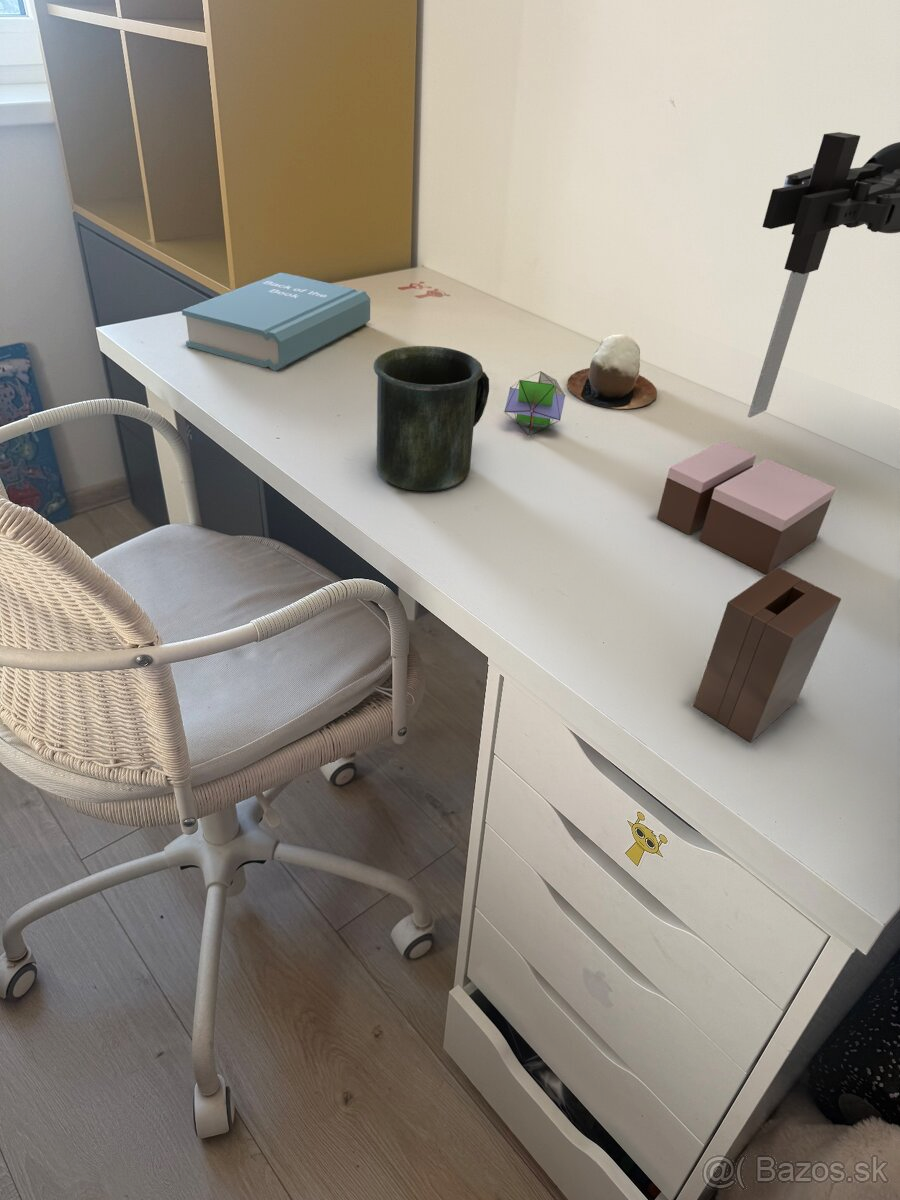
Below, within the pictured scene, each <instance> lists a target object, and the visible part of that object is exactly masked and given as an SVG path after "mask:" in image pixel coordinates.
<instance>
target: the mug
mask: <svg viewBox="0 0 900 1200" xmlns="http://www.w3.org/2000/svg"><path fill="white" fill-rule="evenodd" d="M372 366H373V367H372V368H373V371H374V374H376V376H377V386H376V387H377V390H376V391H377V393H376V394H377V395H376V396H377V397H376V399H377V400H376V464H375V465H376V470H377V471H378V473H379V474H380V475H381V477H382V478H383V479H384V481H386V482H388V483H389V484H391V485H393V486H395V487H398V488H401V489H404V490H410V491H418V492H433V491H434V492H435V491H440V490H441V491H442V490H446V489H449V488H452V487H454V486H456V485H458V484H460V483H462V482H463V480H465V478H466V477H467V476H468V474H469V472H470V469H471V461H472V460H471V459H472V451H473V450H472V449H473V437H474V427H476V425H477V424H478V423H479V422H480V420H481V418H482V416H483V414H484V413H485V412H484V411H485V409H486V406H487V403H488V398H489V395H490V394H489V393H490V378H489V377H488V375H487V373H486V372H484V370H483V366H482V364H481V362H480V361H479V360H478V359H477V358H475V357H474V356H472V355H471V354H468V353H466V352H463V351H461V350H457V349H453V348H450V347H442V346H435V345H434V346H433V345H412V346H411V345H409V346H403V347H398V348H393V349H391V350H387V351H385V352H383V353H381V354H380V355H378V356H377V357H376V358H375V360H374V361H373V365H372Z"/></svg>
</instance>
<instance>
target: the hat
mask: <svg viewBox="0 0 900 1200" xmlns="http://www.w3.org/2000/svg"><path fill="white" fill-rule="evenodd" d="M640 367H641V349H640V346H639V344H638V343H637V342H636V341H635V339H633V338H632V337H630V336H628V335H626V334H612V335H609V336H607V337H606V338H604V339H602V340H601V341H600V343H599V347H597V349H595V351H594V354H593V356H592V358H591V360H590V365H589V367H588V368H582V369H580V370H577V371H575V372H574V373H572V374H570V376H569V377H568V379H567V381H566V382H567V383H566V384H567V388H568V390H570V392H571V393H572V394H573V395H574V396H576V397H577V398H579V399H580V400H581V401H584V402H585V403H588V404H591V405H593V406H597V407H602V408H607V409H608V408H609V409H616V410H617V409H620V410H625V409H628V410H629V409H636V408H641V407H644V406H647V405H649V404H651V403H652V402H654V400H655V399H656V398H657V395H658V390H657V387H656V386H655V385H654V384H653V382H651V381H650V380H649V379H648V378H646V376H642V375H641V374H640V369H641V368H640Z"/></svg>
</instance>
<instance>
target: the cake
mask: <svg viewBox="0 0 900 1200" xmlns="http://www.w3.org/2000/svg"><path fill="white" fill-rule="evenodd" d="M836 489H837V488H836V486H835V487H834V486H832V485H831V484H827V483H825V482H823V481H821V480H818V479H816V478H813V477H812V476H811V477H810V476H809V475H807V474H804V473H802V472H799V471H796V470H794V469H792V468H790V467H787V466H785V465H783V464H781V463H778V462H775V461H773V460H771V459H769V458H766V459H764V460H763V461H761V462H759V463H757V464H756V465H753V467H752V468H750V469H748V470H746V471H745V472H743V473H741V474H739V475H737V476H736V477H734V478H732V479H730V480H728V481H726V482H725V483H723V484H721V485H719V486H717V487H715V488H714V492H713V495H712V499H711V502H710V505H709V509H708V512H707V516H706V519H705V523H704V526H703V527H702V528H701V529H702V530H701V533H700V536H699V542H702V543H704V544H706V545H707V546H709V547H711V548H714V549H715V550H717V551H720V552H722V553H723V554H726V555H727V556H729V557H731V558H733V559H735V560H737V561H739V562H741V563H743V564H745V565H746V566H749V567H751V568H753V569H755V570H757V571H759V572H760V573H763V574H764V575H767V574H769V573H770V572H772V571H773V570H774V569H776V568H777V567H779V566H780V565H781V564H783V563H784V562H786V561H787V560H789V559H790V558H791V557H793V556H794V555H796V554H797V553H799V552H800V551H802V550H803V549H805V548H806V547H807V546H809V545H810V544H811V543H813V542H814V541H816V540H817V537H818V535H819V532H820V530H821V528H822V526H823V523H824V519H825V517H826V514H827V512H828V510H829V507H830V505H831V502H832V499H833V497H834V494H835V492H836Z"/></svg>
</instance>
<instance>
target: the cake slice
mask: <svg viewBox="0 0 900 1200" xmlns="http://www.w3.org/2000/svg"><path fill="white" fill-rule="evenodd" d="M756 457H757V454H756V453H754V452H752V451H749V450H747V449H745V448H742V447H740V446H737V445H735V444H733V443H730V442H727V441H726V440H722V441H720V442H718V443H716V444H714V445H712V446H709V447H707V448H706V449H703V450H701V451H699V452H697V453H695V454H693V455H691V456H689V457H687V458H685V459H683V460H681V461H678V462H677V463H675V464H673V465H670V466H669V468H668V471H667V476H666V477H667V478H666V481H665V484H664V488H663V491H662V495H661V499H660V504H659V507H658V512H657V515H656V519H657V520H659V521H661V522H662V523H664V524H667V525H668V526H670V527H673V528H674V529H676V530H678V531H680V532H682V533H684V534H686V535H688V536H689V535H691V534H693V533H695V532H697V531H698V530H700V529H702V528H703V526H704V523H705V519H706V516H707V512H708V509H709V505H710V502H711V499H712V495H713V492H714V488H715V487H717V486H719V485H721V484H723V483H725V482H726V481H728V480H730V479H732V478H734V477H736V476H737V475H739V474H741V473H743V472H745V471H746V470H748V469H750V468H752V467H754V464H755V461H756Z"/></svg>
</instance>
